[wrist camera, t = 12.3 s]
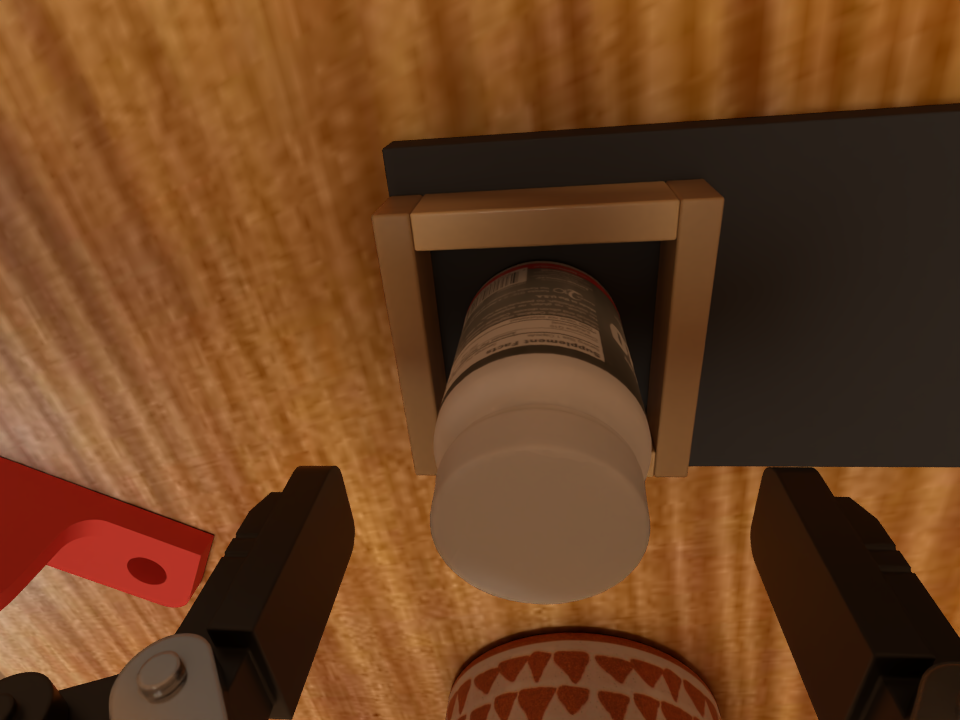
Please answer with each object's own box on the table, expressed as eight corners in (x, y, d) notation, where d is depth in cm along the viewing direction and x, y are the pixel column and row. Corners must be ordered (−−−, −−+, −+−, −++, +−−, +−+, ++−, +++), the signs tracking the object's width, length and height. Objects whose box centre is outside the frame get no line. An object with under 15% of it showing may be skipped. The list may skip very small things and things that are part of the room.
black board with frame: (435, 445, 22) (420, 504, 19) (391, 141, 16) (360, 163, 14) (981, 445, 19) (1054, 513, 17) (1142, 90, 14) (1289, 105, 11)
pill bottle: (609, 398, 18) (652, 632, 11) (465, 389, 19) (417, 611, 12) (630, 259, 16) (701, 443, 9) (465, 252, 16) (403, 423, 9)
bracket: (-54, 503, 26) (-264, 669, 19) (-60, 434, 24) (-301, 594, 17) (198, 592, 28) (85, 775, 21) (214, 535, 26) (93, 719, 19)
